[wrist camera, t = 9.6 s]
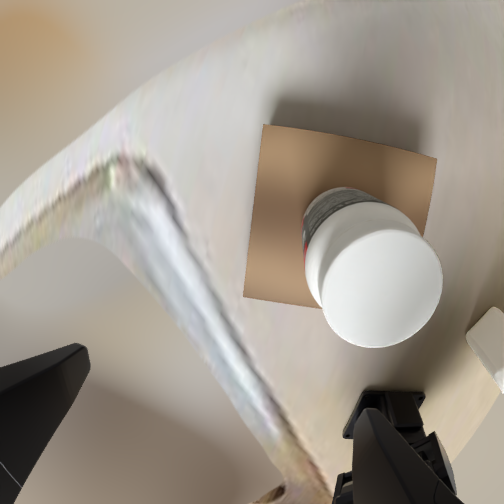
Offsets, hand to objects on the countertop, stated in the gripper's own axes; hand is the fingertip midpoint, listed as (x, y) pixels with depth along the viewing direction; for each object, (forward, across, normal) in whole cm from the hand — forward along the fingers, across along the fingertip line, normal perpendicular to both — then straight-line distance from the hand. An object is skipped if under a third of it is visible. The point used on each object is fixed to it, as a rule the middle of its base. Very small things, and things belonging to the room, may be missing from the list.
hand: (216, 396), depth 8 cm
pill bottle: (+10, -4, -4) cm, 12 cm away
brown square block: (+13, -4, -4) cm, 14 cm away
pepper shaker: (+13, -20, +3) cm, 24 cm away
